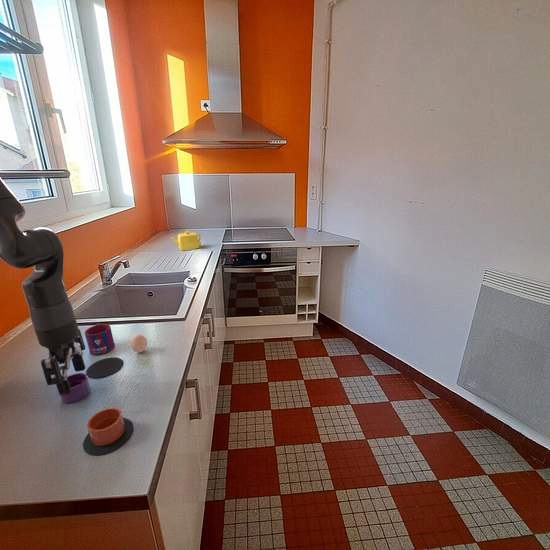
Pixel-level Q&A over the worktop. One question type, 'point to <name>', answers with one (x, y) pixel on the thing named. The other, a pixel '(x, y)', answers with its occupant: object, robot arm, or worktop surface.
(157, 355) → the worktop surface
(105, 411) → the clay dish
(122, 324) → the worktop surface
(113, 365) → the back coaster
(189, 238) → the teapot
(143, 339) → the egg
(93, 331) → the mug
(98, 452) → the front coaster
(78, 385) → the plum dish
